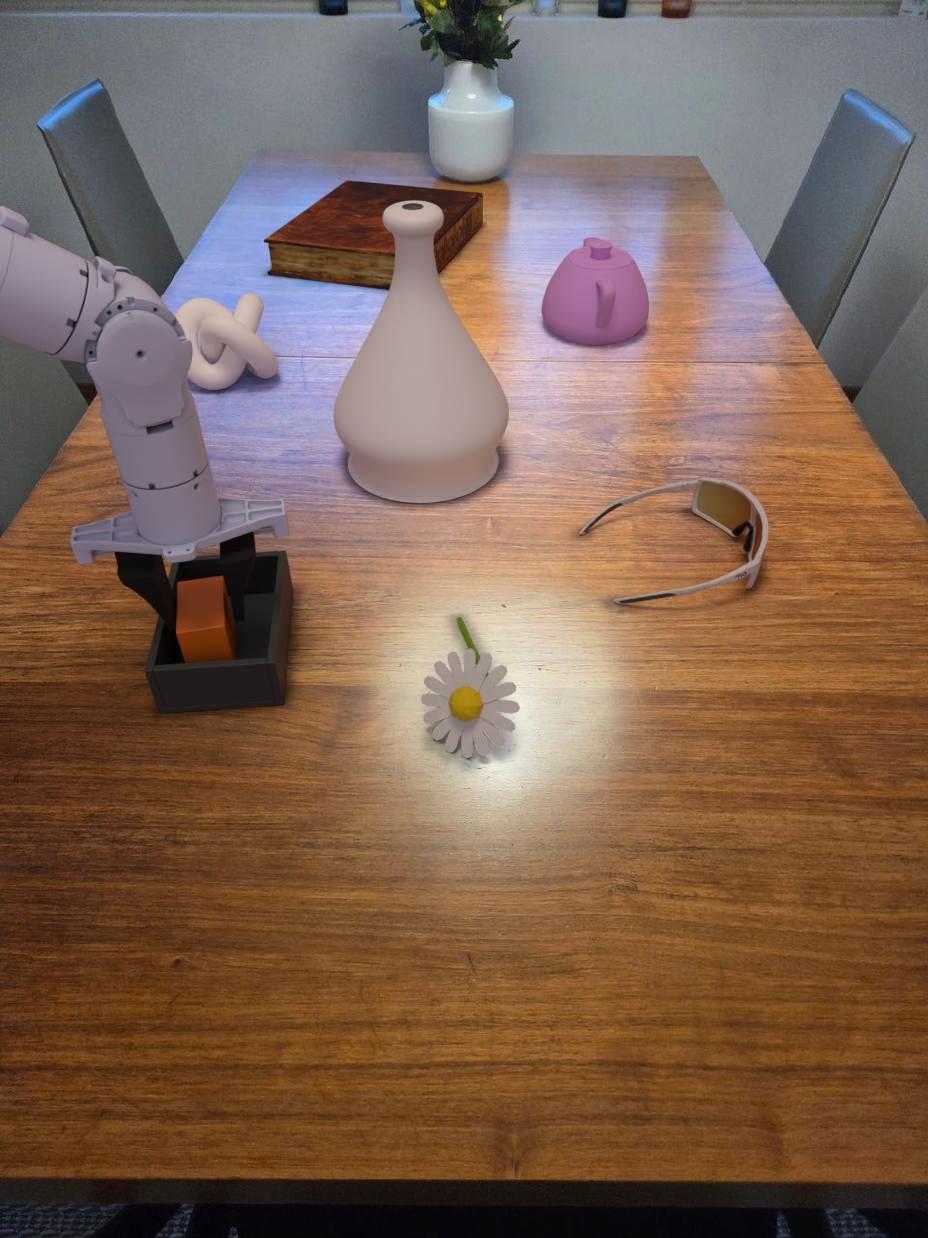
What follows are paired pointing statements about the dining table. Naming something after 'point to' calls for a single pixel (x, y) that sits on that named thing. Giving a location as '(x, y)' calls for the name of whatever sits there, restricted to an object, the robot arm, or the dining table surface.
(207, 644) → the block
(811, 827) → the dining table surface
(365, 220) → the book
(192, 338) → the beige knot sculpture
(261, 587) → the open box
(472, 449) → the vase
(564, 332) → the teapot
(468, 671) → the decorative flower
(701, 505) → the sunglasses
